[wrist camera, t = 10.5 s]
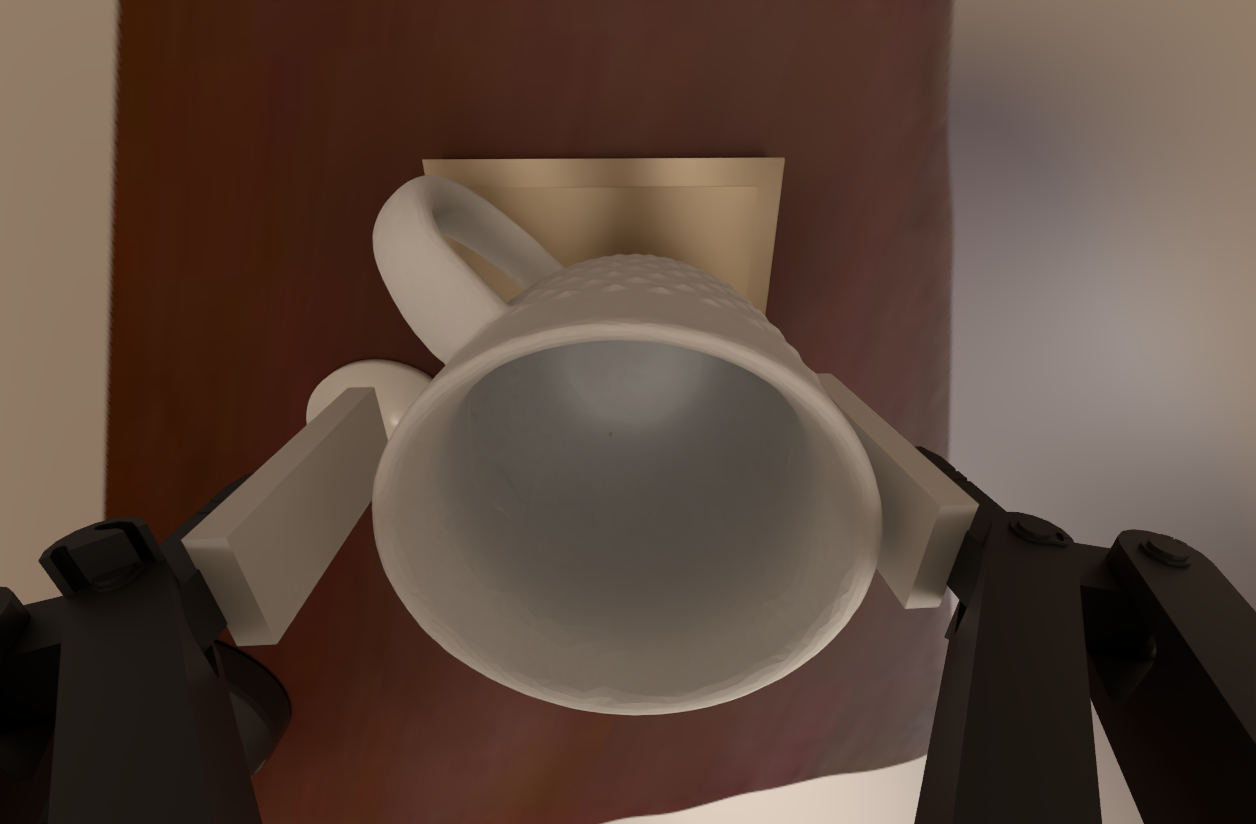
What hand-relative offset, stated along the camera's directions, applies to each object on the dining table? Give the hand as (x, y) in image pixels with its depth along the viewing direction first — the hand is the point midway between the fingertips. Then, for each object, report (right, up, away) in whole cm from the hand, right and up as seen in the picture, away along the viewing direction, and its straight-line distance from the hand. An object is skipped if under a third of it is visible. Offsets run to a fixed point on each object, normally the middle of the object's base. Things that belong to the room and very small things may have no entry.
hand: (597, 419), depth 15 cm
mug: (+1, +4, +7) cm, 8 cm away
